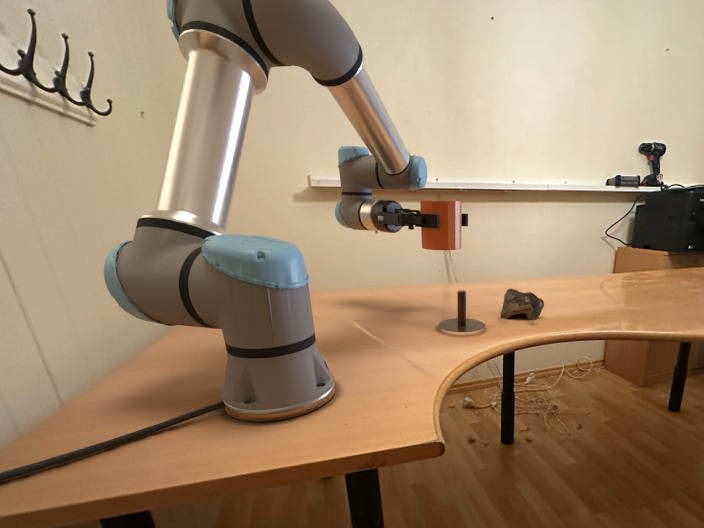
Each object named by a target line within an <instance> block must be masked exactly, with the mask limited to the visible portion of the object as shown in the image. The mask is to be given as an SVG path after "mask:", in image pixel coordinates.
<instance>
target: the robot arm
mask: <svg viewBox="0 0 704 528" xmlns="http://www.w3.org/2000/svg"><path fill="white" fill-rule="evenodd" d="M165 2H166V15H167V18H168V20H170V21H171V22H172V25H171V26H170V29H171V32H172V34H173V37H174V38H175V40H176V42H177V44H178V48H179V49H178V50H179V51H180V54H181V55H182V57H183V58H184V61H186V62H187V63H186V68H185V73H184V78H183V83H182V86H181V91H180V96H179V100H178V105H177V109H176V114H175V119H174V122H173V126H172V127H173V128H172V130H171V131H172V132H171V136H170V141H169V145H168V150H167V154H166V157H165V163H164V166H163V167H164V168H163V173H162V175H161V176H162V177H161V181H160V187H159V191H158V195H157V198H156V203H155V208H154V210H153V211H150V212H148V213H145V214H142V215H140V216H139V217H138V218H137V222H136V225H135V229H134V234H133V239H132V240H131V239H130V240H125V241H123V242H122V243H120V244H119V245H115V246H114V247H113V248H112V249H111V250H110V251H109V252H108V254H107V255H106V258H105V259H104V264H103V279H104V284H105V286H106V289H107V291H108V293H109V295H110V296H111V298H112V299H114V300H115V302H116V303H117V306H118V307H119V308H121V309H122V310H123V311H124V312H126V313H127V314H128V315H130V316H132V317H134V318H136V319H139V320H141V321H145V322H148V323H156V324H158V325H163V326H167V327H175V326H184V327H193V328H203V329H213V330H221V332H222V336H223V340H224V345H225V350H226V355H227V360H226V366H225V367H226V369H225V374H224V381H223V387H222V394H221V401H218V402H216V403H213V404H210V405H207V406H204V407H201V408H198V409H194V410H193V411H189V412H187V413H184V414H181V415H178V416H175V417H172V418H170V419H168V420H164V421H162V422H159V423H156V424H153V425H150V426H147V427H144V428H141V429H137V430H135V431H132V432H129V433H126V434H123V435H120V436H117V437H113V438H111V439H108V440H105V441H102V442H98V443H94V444H92V445H89V446H86V447H82V448H78V449H76V450H73V451H70V452H67V453H66V452H65V453H63V454H59V455H57V456H52V457H50V458H46V459H43V460H40V461H36V462H33V463H29V464H26V465H21V466H19V467H16V468H12V469H9V470H5V471H2V472H0V482H3V481H7V480H10V479H14V478H16V477H20V476H23V475H26V474H30V473H33V472H37V471H41V470H44V469H46V468H50V467H52V466H56V465H60V464H62V463H67V462H69V461H72V460H75V459H79V458H81V457H86V456H88V455H91V454H94V453H98V452H101V451H103V450H106V449H109V448H113V447H116V446H118V445H121V444H124V443H127V442H130V441H134V440H136V439H139V438H142V437H144V436H147V435H150V434H154V433H157V432H159V431H162V430H165V429H167V428H170V427H173V426H176V425H179V424H180V423H181V424H182V423H184V422H186V421H189V420H191V419H194V418H197V417H200V416H203V415H206V414H209V413H212V412H214V411H215V412H216V411H217V410H220V409H223V408H224V411H225V412H226V414H228V416H230V417H232V418H234V419H237V420H240V421H248V422H273V421H281V420H287V419H291V418H294V417H298V416H302V415H305V414H307V413H310V412H312V411H314V410H317V409H318V408H320V407H322V406H324V405H325V404H327V403H328V402H329V401H330V400H331V399H332V398H333V397H334V395H335V394H336V383H335V377H334V374H333V373H332V371H331V369H330V367H329V364H328V361H327V358H326V357H325V356H323V354H322V352H321V349H320V348H319V346H318V344H317V339H316V331H315V330H316V329H315V322H314V315H313V308H312V302H311V293H310V292H311V291H310V285H309V280H310V278H309V277H310V276H309V274H308V272H307V267H306V264H305V259H304V255H303V253H302V251H301V250H300V248H298V247H297V245H296V244H294V243H292V242H290V241H288V240H284V239H280V238H275V237H271V236H270V237H269V236H263V235H255V234H254V235H248V234H237V233H236V234H235V233H233V234H231V233H230V234H227V229H228V224H229V218H230V213H231V209H232V203H233V198H234V193H235V189H236V183H237V178H238V174H239V168H240V165H241V164H240V163H241V158H242V153H243V148H244V143H245V139H246V135H247V134H246V133H247V128H248V123H249V118H250V113H251V108H252V104H253V98H254V96H258V95H261V94H262V93H264V92H265V91H266V89H267V86H268V82H269V77H270V71H271V69H272V68H278V67H279V68H280V67H282V68H283V67H298V68H301V69H304V70H305V71H307V72H308V73H309V74H310V75H311V77H312V78H313V80H314V81H315V83H317V84H318V85H320V86H321V87H323V88H327V91H329V94H330V95H331V96H332V97H333V99H334V100H335V102H336V104H338V106H339V108H340V109H341V111H342V112H343V114H344V115H345V117H346V118H347V120H348V122H349V123H350V124H351V126H352V127H353V129H354V130H355V132H356V133H357V134H358V136H359V137H360V139H361V141H362V142H363V144H364V145H365V146H360V145H359V146H357V145H342V146H340V147H339V148H338V149H337V160H338V161H337V162H338V165H337V168H338V171H339V172H338V174H339V180H340V183H339V184H340V191H341V195H340V196H341V199H340V200H338V202H336V205H335V208H334V215H335V219H336V221H337V222H338V224H339V225H341V226H342V227H344V228H347V229H351V230H357V231H371V232H374V233H375V234H376V235H379V233H381V232H383V233H390V234H395V233H398V232H400V231H401V230H402V228H403V227H408V230H409V231H412V230H415V227H416V228H421V227H425V228H440V217H439V215H437V214H421V209H411V208H403V206H402V205H401V204H400V202H398V201H396V200H393V199H378V198H377V199H373V190H405V191H413V190H423V189H424V188H425V187H426V185H427V181H428V166H427V162H426V160H425V158H424V157H423V156H421V155H416V154H413V155H411V154H410V152H409V150H408V148H407V146H406V144H405V142H404V141H403V139H402V136H401V134H400V132H399V131H398V129H397V127H396V124H395V123H394V121H393V119H392V117H391V115H390V113H389V112H388V110H387V108H386V106H385V104H384V102H383V100H382V98H381V96H380V94H379V92H378V90H377V89H376V86H375V85H374V82H373V81H372V79H371V77H370V75H369V72H368V71H367V69H366V67H365V65H364V51H363V49H362V46H361V45H360V43H359V40H358V38H357V37H356V34H355V33H354V31H353V30H352V28H351V26H350V25H349V23H348V21H346V19H345V17H343V15H342V14H341V12H339V10H338V9H337V7H335V6H334V4H333V3H332V2H331V1H330V0H166V1H165ZM461 227H469V213H462V214H461Z"/></svg>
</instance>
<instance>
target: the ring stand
mask: <svg viewBox="0 0 704 528" xmlns="http://www.w3.org/2000/svg"><path fill="white" fill-rule="evenodd" d="M456 303H457V306H456V307H457V308H456V309H457V312H456V313H457V315H456V316H457V317H456V318H448V319H444V320H442V321H440V322H439V323H438V327H439V328H440V329H441V330H443V331H446V332H453V333H472V332H477V331H481V330H483V329H484V328H485V327H486V324H485V323H484V322H483V321H481V320H478V319H474V318H467V290H464V289H460V290H459V289H458V290H457V302H456Z"/></svg>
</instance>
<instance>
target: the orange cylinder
mask: <svg viewBox="0 0 704 528" xmlns="http://www.w3.org/2000/svg"><path fill="white" fill-rule="evenodd" d="M419 204H420V211H421V214H437V215H439V217H440V228H425V227H420V230H421V231H420V232H421V233H420V234H421V249H423V250H429V251H456V250H457V251H458V250H461V249H462V226H461V214H462V211H463V210H462V205H463V204H462V200H443V199H441V200H439V199H420V200H419Z"/></svg>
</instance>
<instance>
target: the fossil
mask: <svg viewBox="0 0 704 528" xmlns="http://www.w3.org/2000/svg"><path fill="white" fill-rule="evenodd" d="M503 297H504V298H503V302H502V303H503V304H502V307H501V310H500V311H501V312H500V318H501V319H506V320H507V319H509V318H510V317H513V316H514V315H516V316H518V315H519V314H520V315H521V314H523V315H525V316H526V319H527V321H537V320H538V318H539V317H540V316H541V313H542V311H543V310H544V307H545V302H544V299H542V298H541V297H538V295H536V294H535V293H533V292H531V291H528V292H523V291H519V290H518V289H516V288H508V289H507V290H506V292H505V294H504V295H503Z"/></svg>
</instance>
